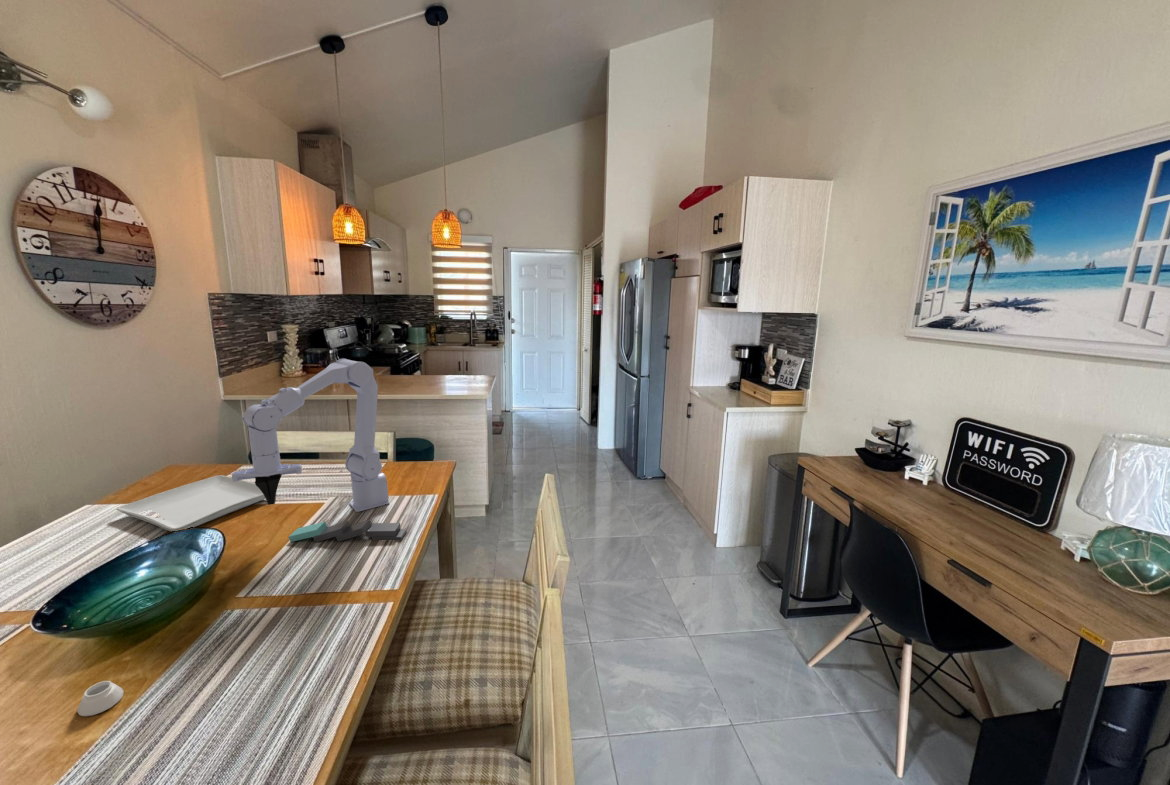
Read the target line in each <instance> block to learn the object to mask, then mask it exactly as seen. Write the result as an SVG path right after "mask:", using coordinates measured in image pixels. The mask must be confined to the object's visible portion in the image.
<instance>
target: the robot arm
mask: <svg viewBox="0 0 1170 785" xmlns="http://www.w3.org/2000/svg"><path fill="white" fill-rule="evenodd" d="M332 384H347V385H349V386H350V387H351V388H352V389H354V390H355V392H356V408H355V409H356V410H355V426H354V441H353V443H354V444H353V445H352V446H351V447H350V448H349V452H348V456H347V458H346V459H345V469H346V470H347V471H348V472H349V473H350V479H351V492H352V500H350V501H349V502H348V503H349V505H350V506H351V508H352V509H353V510H354V511H355V513H359V512H362V511H363V512H364V511H367V510H371V509H375V508H377V507H382V506H386V505H388V503H389V504H390V500H389V488H388V480H387V476H386V474H385V473H384V472H382V468H383V465H382V462H381V459H380V455H381V454H380V452H379V451H378V449H377V447H376V446H375V441H376V440H375V439H376V428H377V426H376V424H377V411H378V410H377V408H378V393H379V385H378V383H377V380H376V379H375V376H374V369H373V368H372V367H371V366H370V365H369V364H367V363H366V362H364V361H356V360H351V359H347V358H339V359H338V360H336V361H335V362H333V363H330V364H329V365H328V366H326V368H324V369H323V370H321V371H320V372H318V373H316V374H315V375H314V376H312V377H310V378H309V379H308V380H306V381H305V382H303V383H301V384H300V385H298V386H297V387H292V386H287V387H281V388H280V389H279V390H278V393H276V394H274V395H272V396H271V397H269V398H268V399H265V398H264V399H262V400H261V401H260V402H261V404H259V403H258V404H252V405H251V406H248V407H246V409H245V411H244V412H243V416H241V420H242V422H243V423H244V425H246V426H247V428H248V435H249V446H250V451H251V452H250V453H251V460H252V467H253V468H252V467H251V468H249V469H248V468H247V469H244V470H238V471H233V472H232V474H231V477H232V480H233V482H236V481H238V480H244V481H245V480H249V479H251V480H252V479H253V480H254V483H255V484H256V486H257V487H258V488H259V489H260V490H261V491H262V493H263V494H264V496H265V500H266V502H267V503H266V504H267V505H269V506H271V505H276V501H277V500H276V498H277V491H278V486H279V484H280V481H281V478H282V476H284V475H291V474H296V475H300V474H302V472H303V468H302V463H298V464H282V463H281V456H280V455H281V454H280V450H279V448H280V447H279V440H278V432H277V426H278V425H279V424H280V421H281V420H282V419H283V418H285V417H287V416H288V415H289V414H291V413H293V412H294V411H296V410H298V409H299V408H301V407H303V406H304V404H305V402H306V398H309V397H310V396H312V395H313V394H316V393H317V392H319V391H321V390H323V389H325V388H327V387H329V386H331V385H332ZM385 504H386V505H385Z"/></svg>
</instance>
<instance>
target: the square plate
mask: <svg viewBox="0 0 1170 785" xmlns="http://www.w3.org/2000/svg"><path fill="white" fill-rule="evenodd" d="M264 500H266V498H265V496H264V494H263V493H262V491H261V490H260V489H259V488H258V487H257V486H256V484H255V482H251V481H247V480H245V479H244V480H238V481H236V482H233V480H232V476H226V475H222V474H220V475H219V474H218V475H214V476H211V477H208V478H204V479H200V480H197V481H193V482H190V483H187V484H184V485H181V486H178V487H174V488H172V489H168V490H165V491H163V492H158V493H155V494H153V495H150V496H147V497H145V498H144V497H143V498H140V499H139V500H136V501H133V502H130V503H127V504H124V505H121V506H119V507H117V508H115V509H116V511H118V512H121V513H122V514H124V515H126V516H128V517H132V518H136V519H138V520H141V521H144V522H146V523H150V524H152V525H155V526H157V527H159V528H161V529H162V530H166V531H169V532H172V531H176V530H179V529H185V528H190V527H193V528H195V527H197V526H201V525H203V524H206V523H208V522H210V521H214V520H215V519H218V518H221V517H223V516H225V515H228V514H231V513H233V512H236V511H239V510H241V509H243V508H246V507H248V506H251V505H253V504H256V503H258V502H261V501H264ZM148 510H150V511H151V510H152V512H156V513H157V515H158V513H159V516H161V517H162V518H164V519H165V520H163V519H162V518H161V519H160V518H154V517H151V516H146V515H142V514H138V513H140V512H143V511H148ZM159 516H158V517H159ZM172 533H173V532H172Z"/></svg>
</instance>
